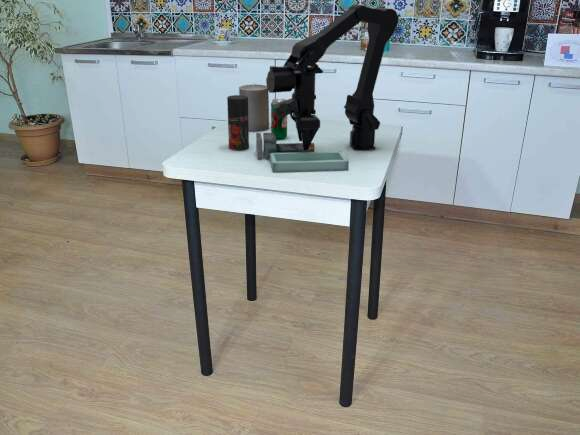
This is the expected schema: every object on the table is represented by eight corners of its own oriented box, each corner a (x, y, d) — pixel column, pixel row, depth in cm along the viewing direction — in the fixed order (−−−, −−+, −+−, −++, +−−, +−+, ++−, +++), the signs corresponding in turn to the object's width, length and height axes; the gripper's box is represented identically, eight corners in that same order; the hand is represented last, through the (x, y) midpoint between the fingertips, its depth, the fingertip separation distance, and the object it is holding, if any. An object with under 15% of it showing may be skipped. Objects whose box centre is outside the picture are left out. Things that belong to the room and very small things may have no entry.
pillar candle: (268, 124, 189) (268, 80, 183) (269, 131, 180) (268, 85, 174) (240, 125, 189) (238, 80, 183) (239, 132, 180) (238, 85, 174)
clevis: (273, 151, 160) (273, 132, 158) (276, 159, 153) (276, 140, 151) (256, 151, 160) (256, 132, 158) (258, 159, 153) (257, 140, 150)
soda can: (285, 140, 171) (285, 102, 166) (269, 139, 172) (269, 101, 167) (288, 136, 175) (289, 98, 171) (273, 135, 176) (273, 97, 171)
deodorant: (253, 148, 163) (252, 97, 157) (238, 152, 159) (236, 100, 153) (239, 144, 167) (238, 94, 161) (224, 147, 163) (222, 97, 157)
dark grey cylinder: (312, 151, 159) (312, 140, 158) (314, 156, 157) (314, 146, 155) (264, 152, 158) (264, 141, 156) (265, 158, 155) (265, 147, 153)
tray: (341, 159, 153) (341, 151, 152) (348, 170, 145) (348, 161, 144) (269, 161, 151) (269, 153, 150) (272, 172, 143) (272, 163, 142)
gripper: (272, 84, 158) (272, 137, 164) (278, 97, 141) (278, 155, 147) (310, 84, 159) (309, 136, 166) (321, 97, 142) (319, 154, 149)
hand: (303, 145), depth 157 cm, fingers open, 9 cm apart
